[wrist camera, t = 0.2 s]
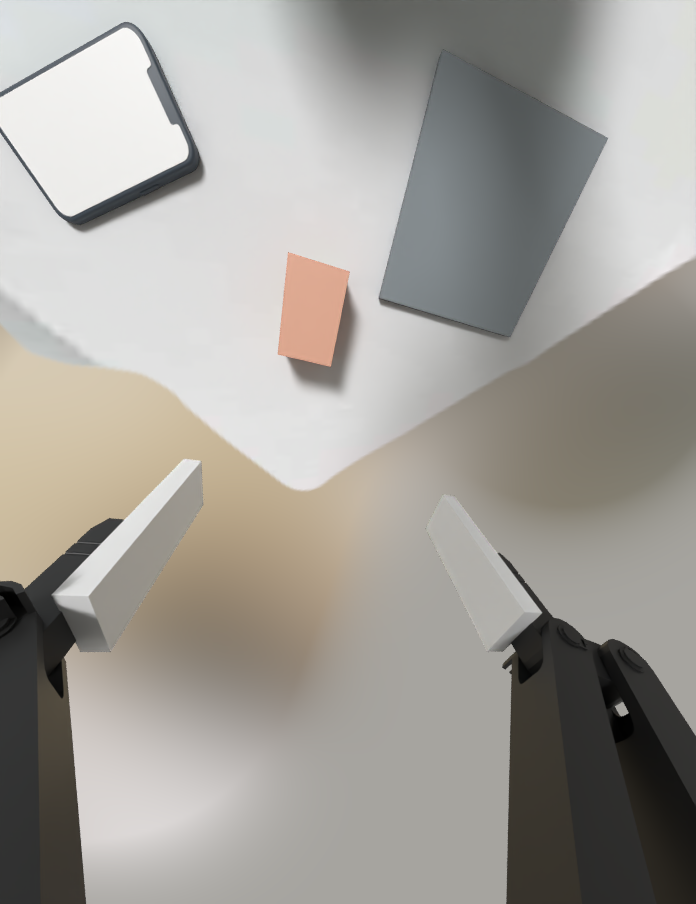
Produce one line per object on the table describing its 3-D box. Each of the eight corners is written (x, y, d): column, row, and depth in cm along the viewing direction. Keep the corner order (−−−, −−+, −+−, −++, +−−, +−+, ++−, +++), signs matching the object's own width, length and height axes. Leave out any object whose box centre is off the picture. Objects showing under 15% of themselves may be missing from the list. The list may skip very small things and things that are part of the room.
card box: (293, 262, 30) (288, 252, 25) (345, 278, 31) (349, 271, 26) (283, 349, 34) (277, 354, 29) (329, 360, 36) (330, 366, 31)
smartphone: (78, 232, 27) (207, 169, 26) (65, 227, 26) (200, 161, 24) (-3, 113, 23) (145, 29, 21) (-25, 100, 21) (133, 9, 20)
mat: (439, 57, 23) (443, 49, 23) (600, 142, 27) (608, 138, 26) (378, 298, 32) (379, 297, 32) (506, 336, 36) (510, 336, 35)
